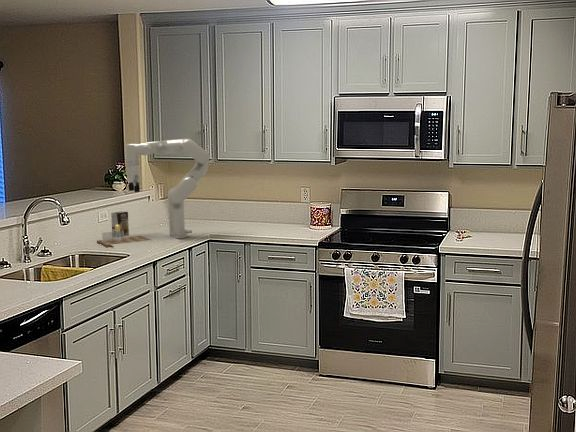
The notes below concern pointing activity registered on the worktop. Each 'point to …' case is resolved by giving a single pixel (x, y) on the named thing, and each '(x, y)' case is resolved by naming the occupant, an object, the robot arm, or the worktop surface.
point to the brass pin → (117, 228)
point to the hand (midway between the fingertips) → (134, 191)
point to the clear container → (113, 236)
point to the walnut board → (126, 240)
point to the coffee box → (120, 221)
